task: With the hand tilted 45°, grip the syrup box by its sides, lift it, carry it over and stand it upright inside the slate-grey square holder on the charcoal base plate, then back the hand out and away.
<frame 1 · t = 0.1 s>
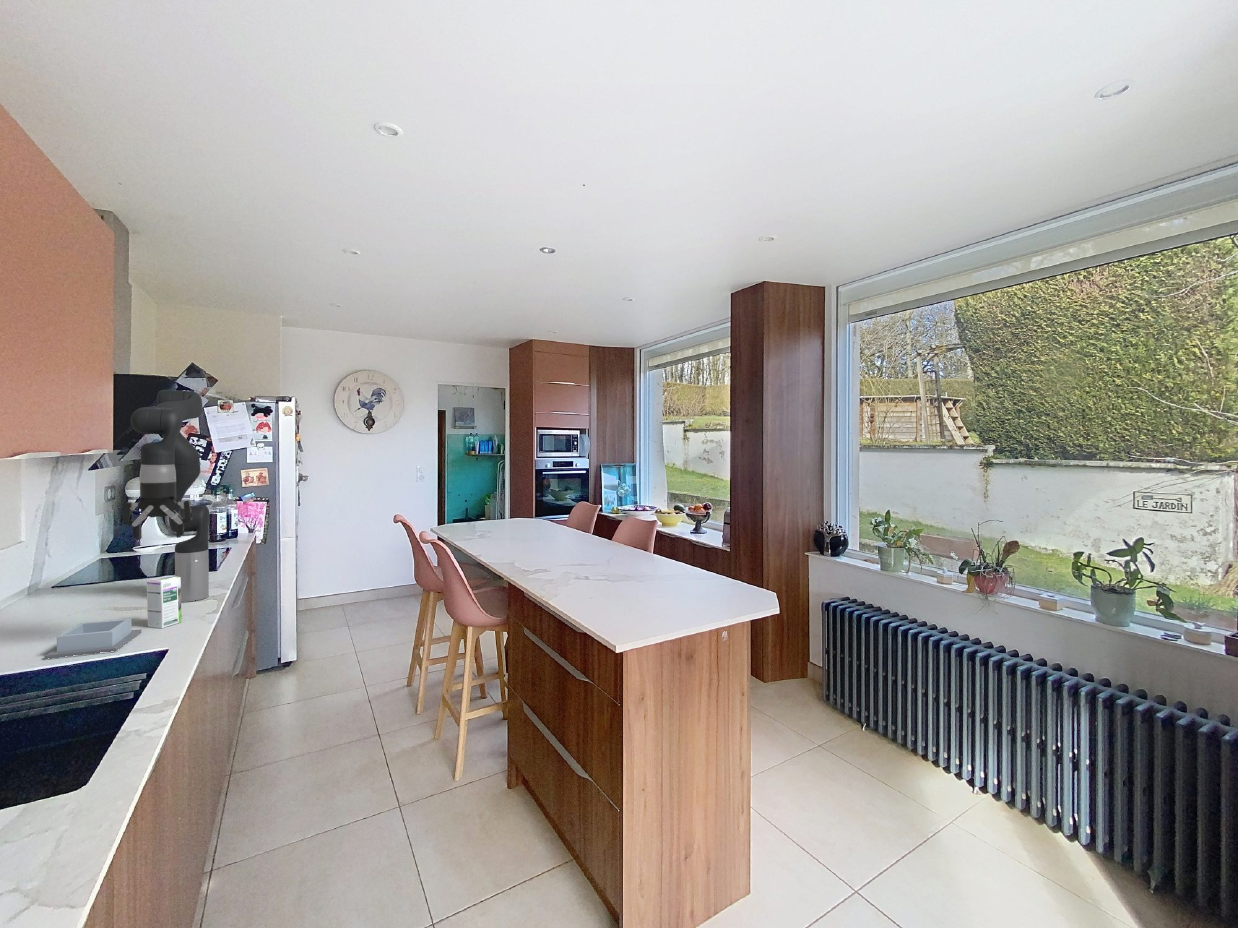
hand: (159, 538, 144), 29 cm above the worktop, tool pointing down, fingers open, 8 cm apart
holder: (96, 645, 141), on the worktop
syrup box: (164, 625, 157), on the worktop
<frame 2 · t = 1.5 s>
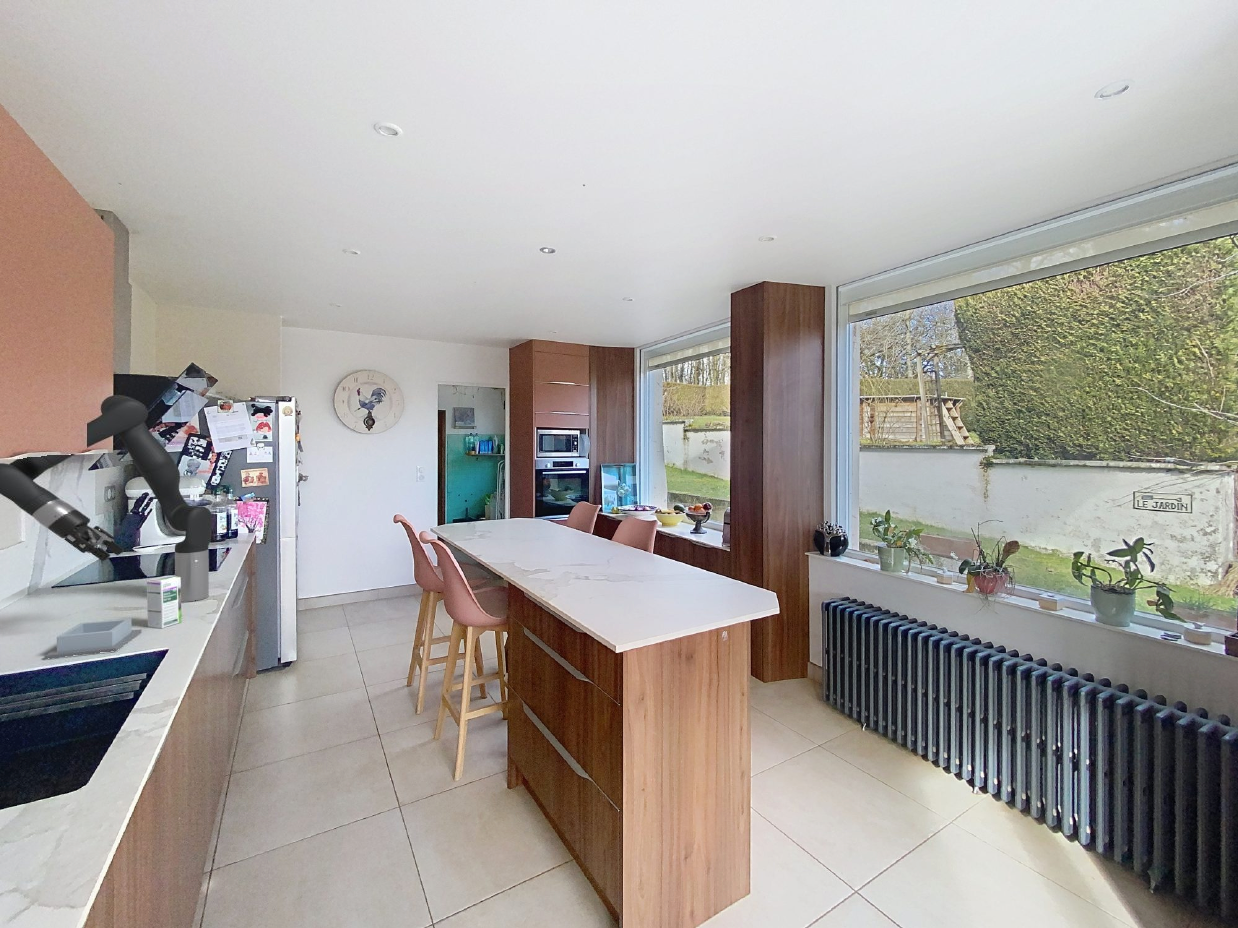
hand: (114, 555, 152), 22 cm above the worktop, tool tilted 45°, fingers open, 8 cm apart
nothing on the worktop moved.
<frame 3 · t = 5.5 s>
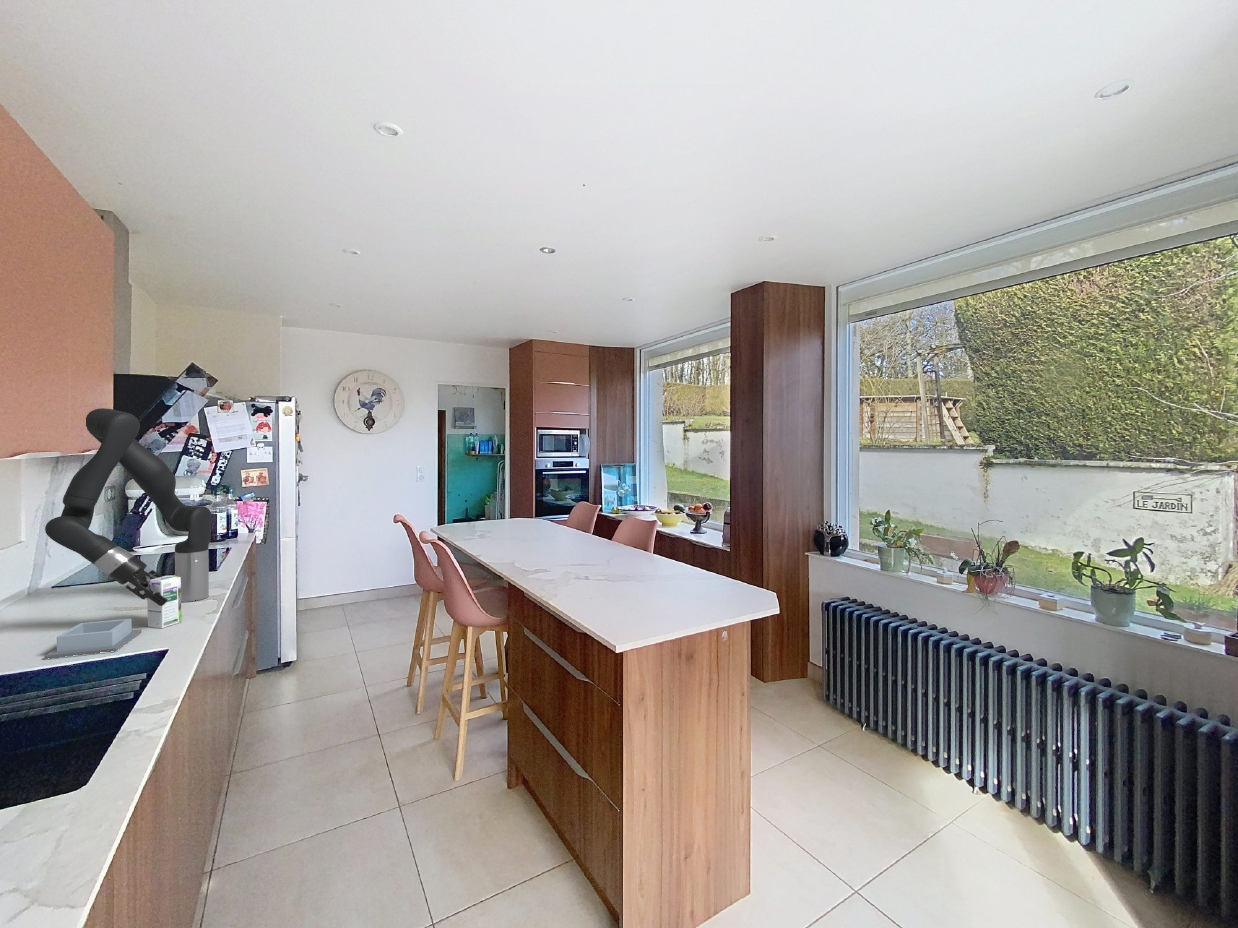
hand: (170, 599, 158), 8 cm above the worktop, tool tilted 45°, fingers closed on syrup box, 7 cm apart
syrup box: (164, 625, 157), on the worktop, touching gripper
when the fingers open (10 cm above the worktop, at t = 12.9 s): syrup box drops 1 cm, resting on holder.
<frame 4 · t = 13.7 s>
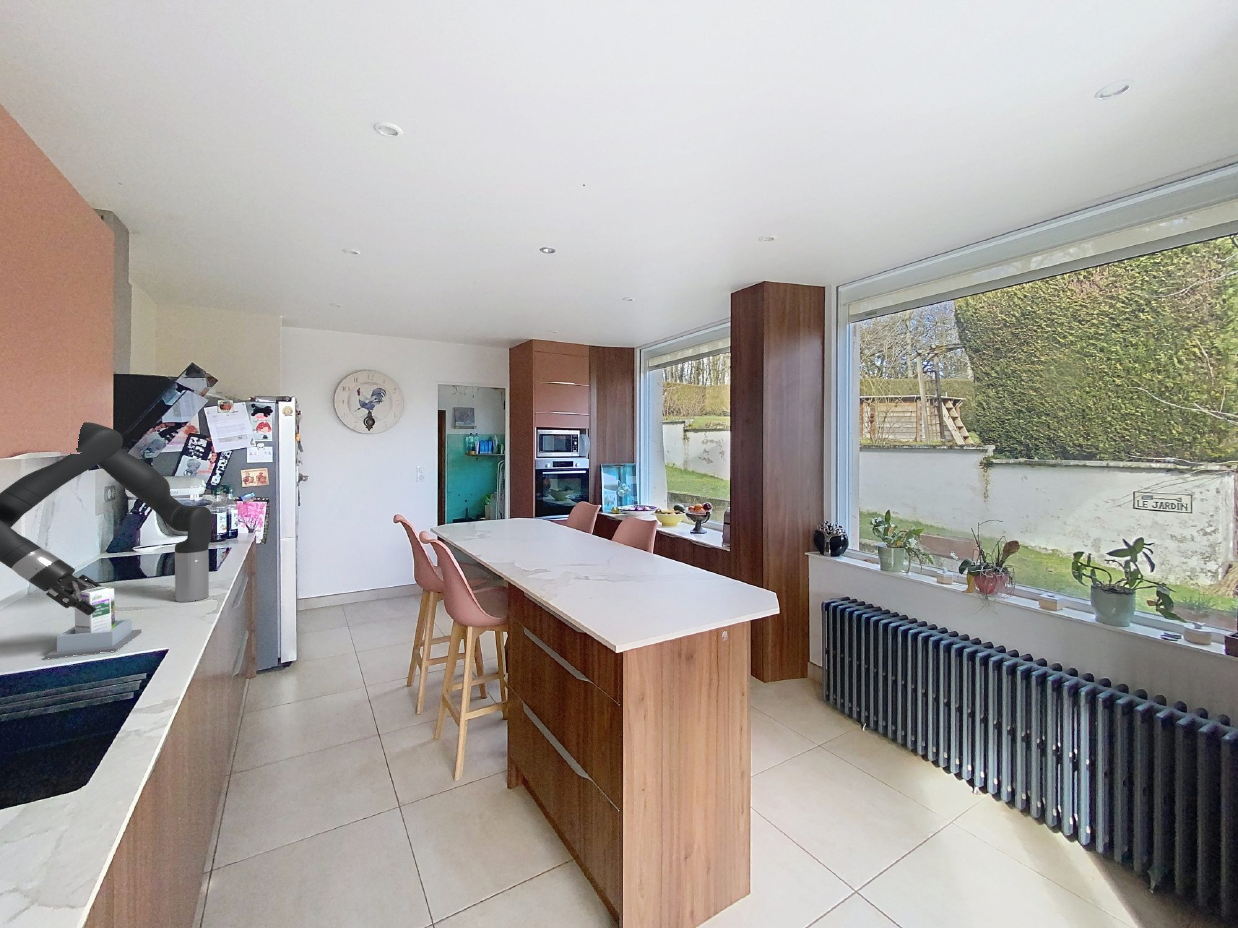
hand: (101, 607, 141), 10 cm above the worktop, tool tilted 45°, fingers open, 8 cm apart
syrup box: (95, 642, 141), point 1 cm above the worktop, touching gripper, holder
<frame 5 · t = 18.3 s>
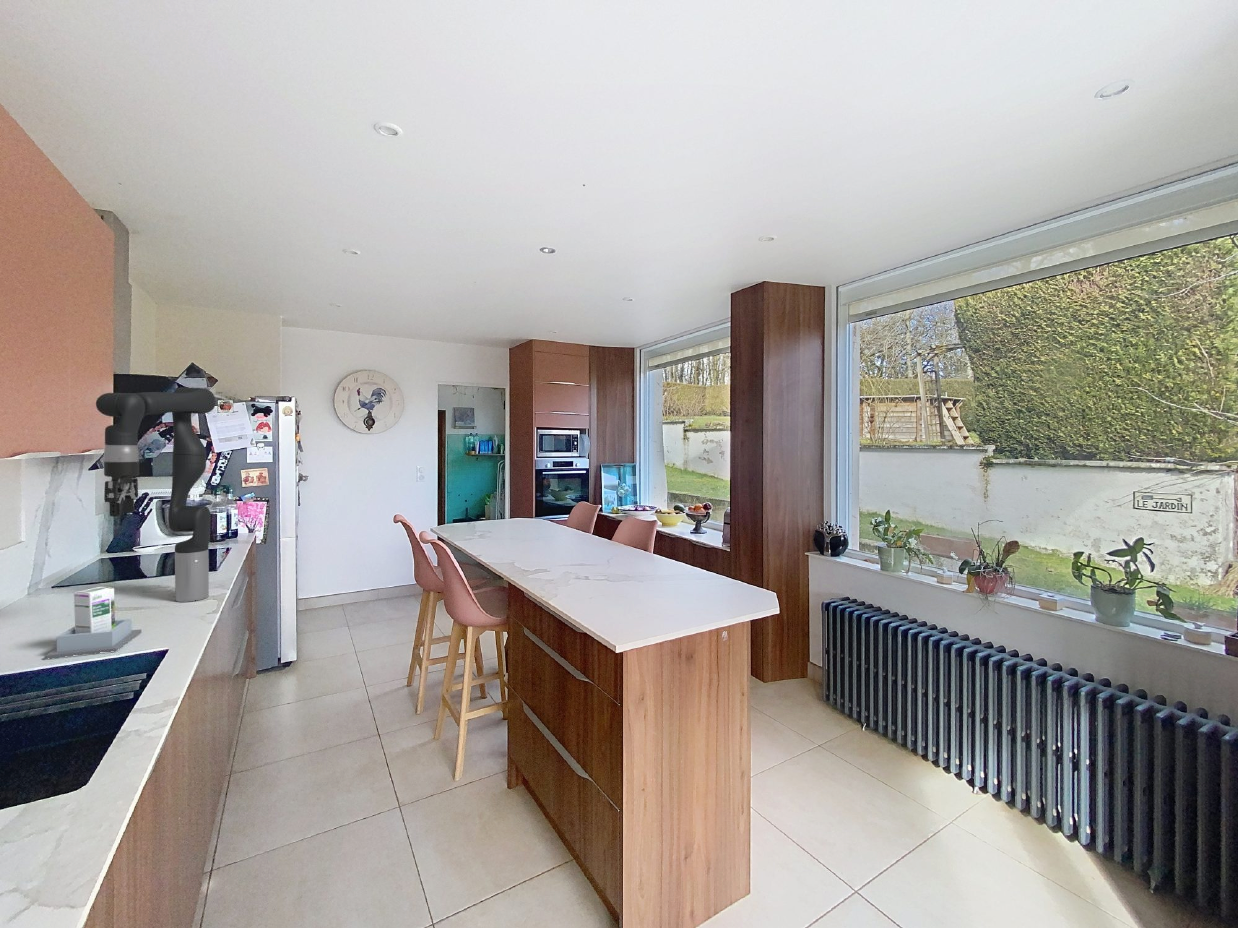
hand: (122, 514, 153), 34 cm above the worktop, tool pointing down, fingers open, 8 cm apart
syrup box: (95, 642, 141), point 1 cm above the worktop, touching holder
at the end: syrup box 0.2 cm off-centre on the holder, point 0.8 cm above the holder's base; syrup box tilted 0°; the gripper is holding nothing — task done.
